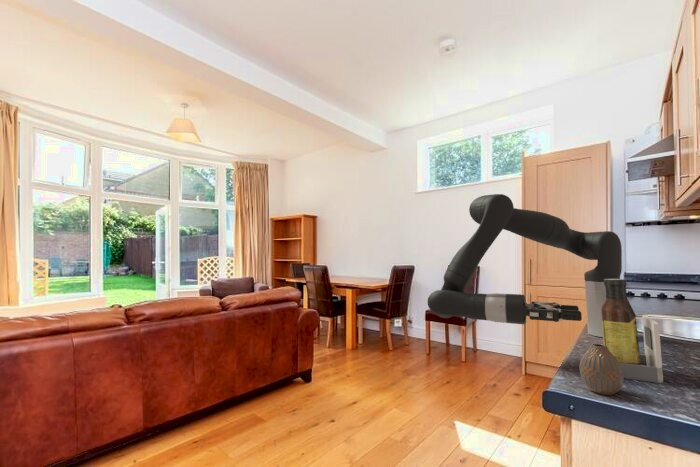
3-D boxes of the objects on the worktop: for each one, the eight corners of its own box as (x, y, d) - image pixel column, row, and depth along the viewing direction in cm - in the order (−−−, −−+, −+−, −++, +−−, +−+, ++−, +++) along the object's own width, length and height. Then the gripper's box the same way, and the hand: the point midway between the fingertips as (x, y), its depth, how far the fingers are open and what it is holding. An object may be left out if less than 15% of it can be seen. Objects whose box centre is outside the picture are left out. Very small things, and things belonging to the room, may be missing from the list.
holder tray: (590, 361, 83) (587, 312, 83) (650, 368, 77) (646, 315, 78) (595, 374, 74) (592, 319, 75) (663, 383, 68) (658, 323, 69)
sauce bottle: (647, 373, 72) (641, 280, 73) (614, 372, 73) (608, 280, 74) (629, 364, 78) (623, 278, 79) (599, 362, 79) (593, 278, 81)
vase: (610, 401, 61) (607, 351, 61) (572, 387, 67) (570, 343, 68) (633, 394, 64) (629, 347, 64) (594, 381, 70) (591, 339, 71)
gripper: (501, 296, 82) (581, 300, 74) (507, 291, 94) (576, 293, 86) (503, 328, 82) (583, 335, 74) (508, 318, 94) (578, 323, 86)
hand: (579, 313), depth 80 cm, fingers open, 8 cm apart
